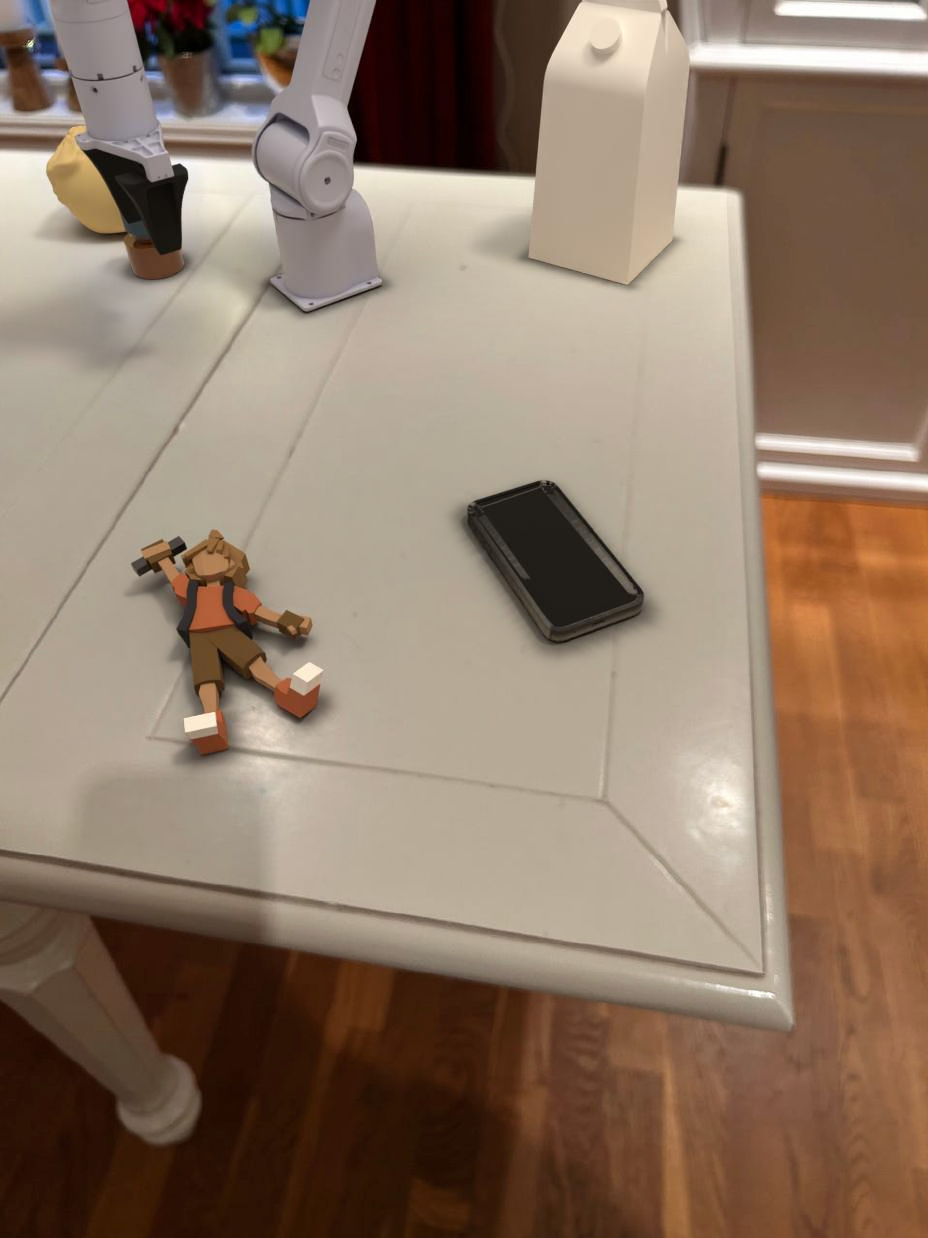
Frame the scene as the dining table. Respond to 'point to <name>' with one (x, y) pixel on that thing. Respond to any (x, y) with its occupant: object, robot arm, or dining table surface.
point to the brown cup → (151, 258)
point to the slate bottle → (134, 227)
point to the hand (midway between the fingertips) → (153, 234)
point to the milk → (610, 140)
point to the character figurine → (226, 631)
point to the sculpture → (82, 186)
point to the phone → (554, 560)
